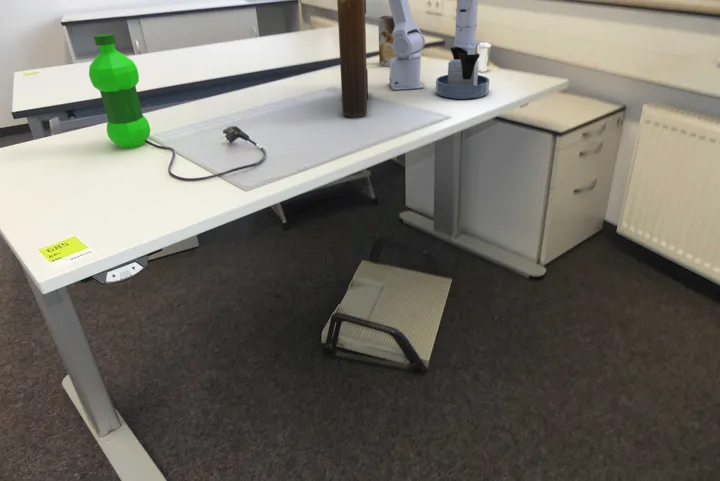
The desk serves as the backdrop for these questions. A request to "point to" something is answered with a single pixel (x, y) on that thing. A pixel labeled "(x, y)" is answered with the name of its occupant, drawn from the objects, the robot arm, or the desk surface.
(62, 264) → the desk surface
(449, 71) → the medicine box
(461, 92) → the bowl
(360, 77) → the dark brown tall slab
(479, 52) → the milkshake
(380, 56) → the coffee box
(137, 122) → the plastic bottle
